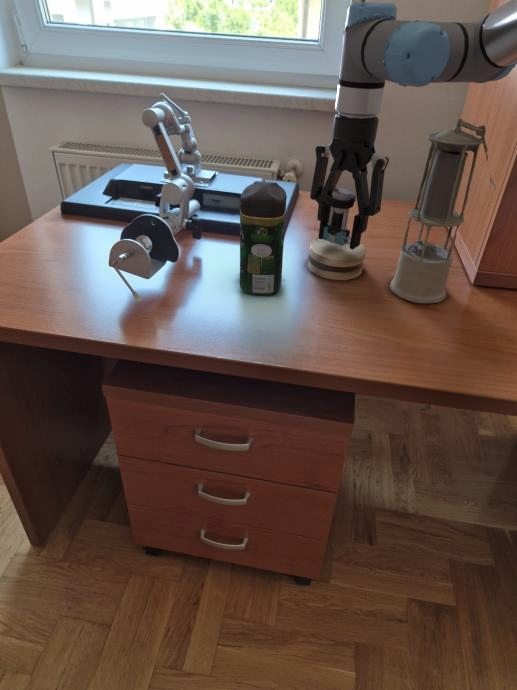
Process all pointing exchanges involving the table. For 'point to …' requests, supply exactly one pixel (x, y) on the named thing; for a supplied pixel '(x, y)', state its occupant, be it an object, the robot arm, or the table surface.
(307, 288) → the table surface
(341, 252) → the wooden yo-yo
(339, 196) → the push button
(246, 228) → the coffee jar
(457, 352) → the table surface
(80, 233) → the table surface
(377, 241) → the table surface
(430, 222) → the lamp
